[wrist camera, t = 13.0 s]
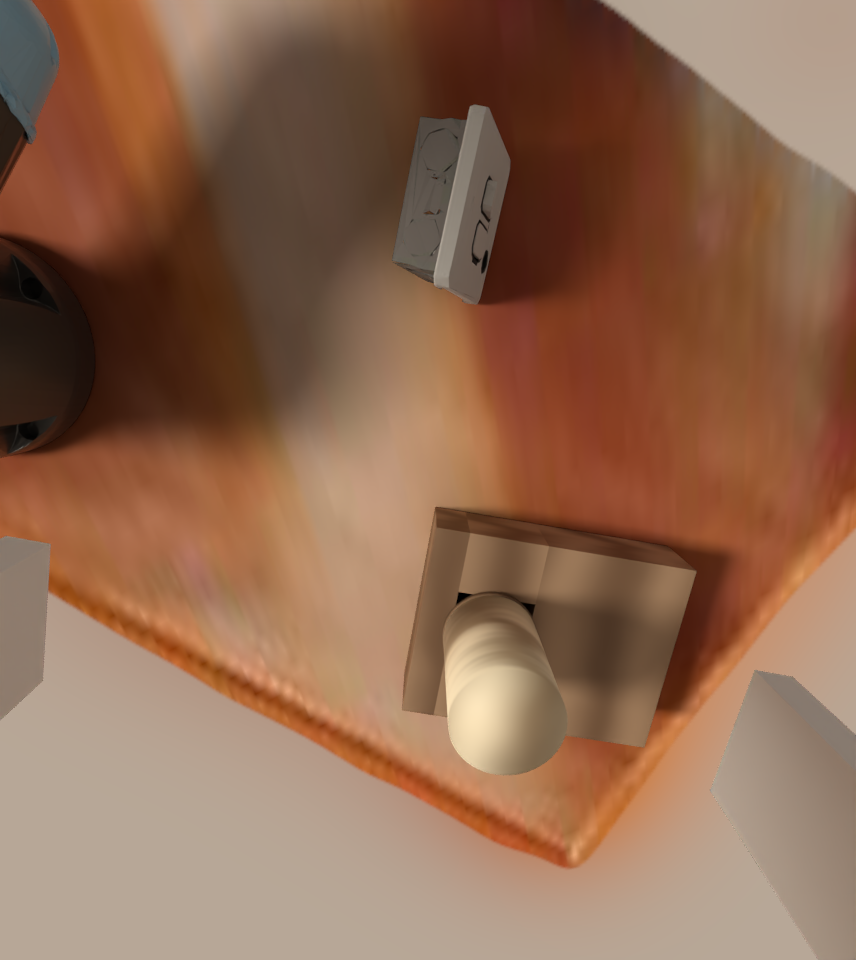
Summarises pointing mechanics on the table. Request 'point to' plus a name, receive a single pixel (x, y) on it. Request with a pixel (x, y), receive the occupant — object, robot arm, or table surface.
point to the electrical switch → (453, 202)
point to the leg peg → (500, 686)
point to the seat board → (559, 614)
